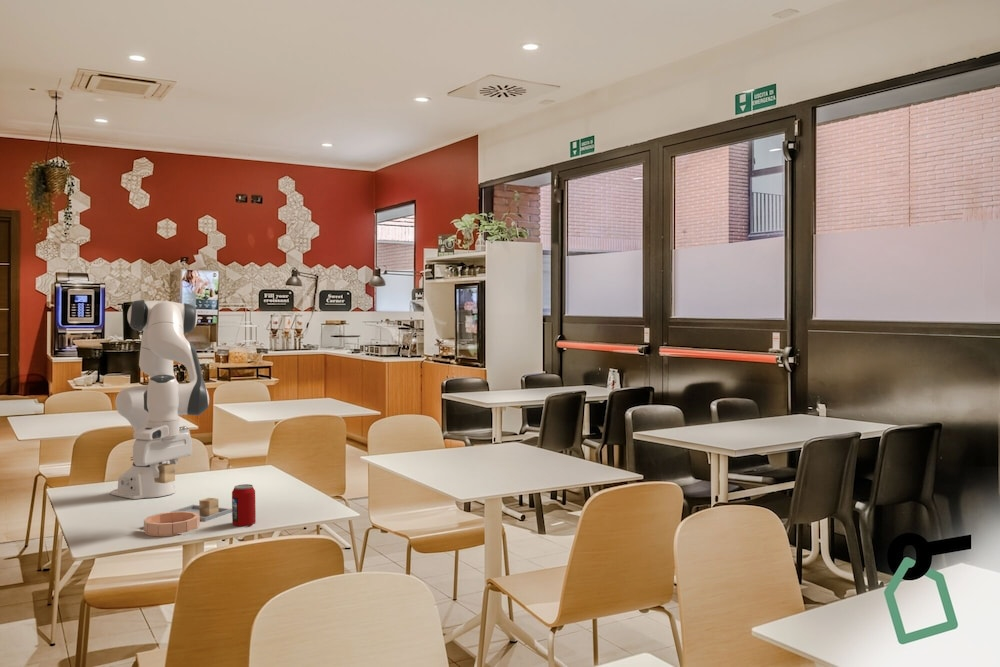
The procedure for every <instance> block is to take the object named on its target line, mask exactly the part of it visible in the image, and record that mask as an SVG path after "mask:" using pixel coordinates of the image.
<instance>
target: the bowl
mask: <svg viewBox="0 0 1000 667" xmlns="http://www.w3.org/2000/svg"><path fill="white" fill-rule="evenodd" d="M200 524H201V521H200V515H199V514H198V513H196V512H188V511H177V512H171V511H168V512H167V511H166V512H159V513H156V514H152V515H149V516H147V517H146V518H145V519H143V531H144V534H145V535H147V536H150V537H157V538H159V537H161V538H162V537H163V538H164V537H165V538H166V537H176V536H181V535H183V534H182V533H186V532H191V531H193V530H195V529H196V530H197V529H198V528H199V526H200Z"/></svg>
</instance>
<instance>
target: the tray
mask: <svg viewBox="0 0 1000 667" xmlns="http://www.w3.org/2000/svg"><path fill="white" fill-rule="evenodd" d="M218 508H219V513H216V514H213V515H210V516H207V517H202V516H200V522H201V521H202V522H207V521H211V520H214V519H217V518H220V517H223V516H225V515H228V514H232V508H228V507H227V508H226V507H219V506H218ZM177 511H188V512H196V513H198V514H199V515H200V510H199V505H198V504H191V505H187V506H184V507H182V508H178V509H175V510H172V511H170V512H177Z"/></svg>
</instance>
